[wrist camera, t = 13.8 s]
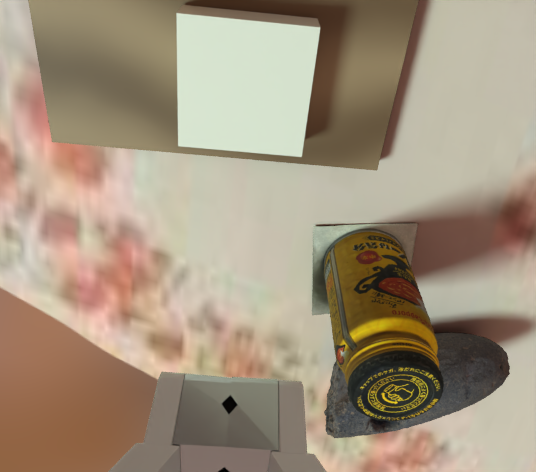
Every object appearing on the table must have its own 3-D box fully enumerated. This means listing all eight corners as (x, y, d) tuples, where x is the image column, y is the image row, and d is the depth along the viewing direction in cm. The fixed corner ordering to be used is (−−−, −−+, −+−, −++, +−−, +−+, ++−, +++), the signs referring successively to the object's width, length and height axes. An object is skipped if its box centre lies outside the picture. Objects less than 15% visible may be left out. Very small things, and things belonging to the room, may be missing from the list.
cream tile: (317, 17, 26) (183, 4, 26) (320, 27, 24) (176, 13, 24) (300, 141, 30) (183, 130, 30) (301, 157, 28) (178, 146, 28)
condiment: (417, 221, 35) (473, 353, 25) (403, 310, 40) (445, 449, 30) (313, 224, 35) (328, 356, 25) (311, 312, 40) (324, 451, 30)
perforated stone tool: (493, 307, 40) (529, 378, 34) (495, 351, 43) (529, 423, 37) (309, 342, 42) (314, 414, 37) (322, 381, 45) (330, 453, 40)
